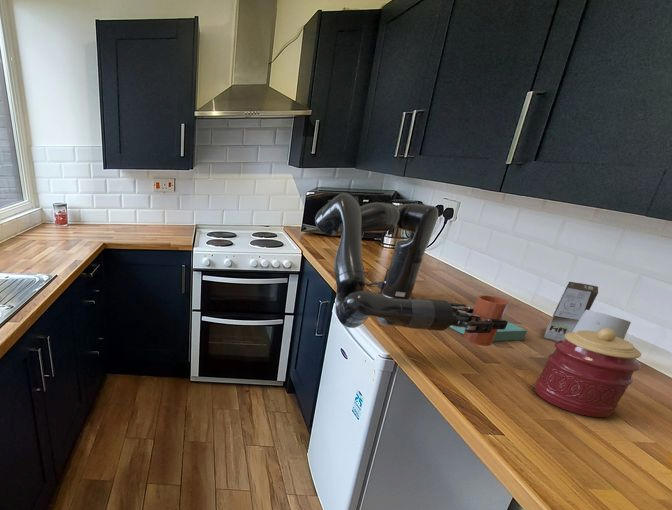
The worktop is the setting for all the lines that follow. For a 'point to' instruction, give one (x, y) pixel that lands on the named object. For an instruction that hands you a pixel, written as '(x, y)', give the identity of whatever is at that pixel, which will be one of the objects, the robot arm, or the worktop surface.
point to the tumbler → (489, 310)
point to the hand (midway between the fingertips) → (496, 319)
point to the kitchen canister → (588, 372)
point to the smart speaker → (602, 323)
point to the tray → (503, 332)
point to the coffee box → (570, 309)
